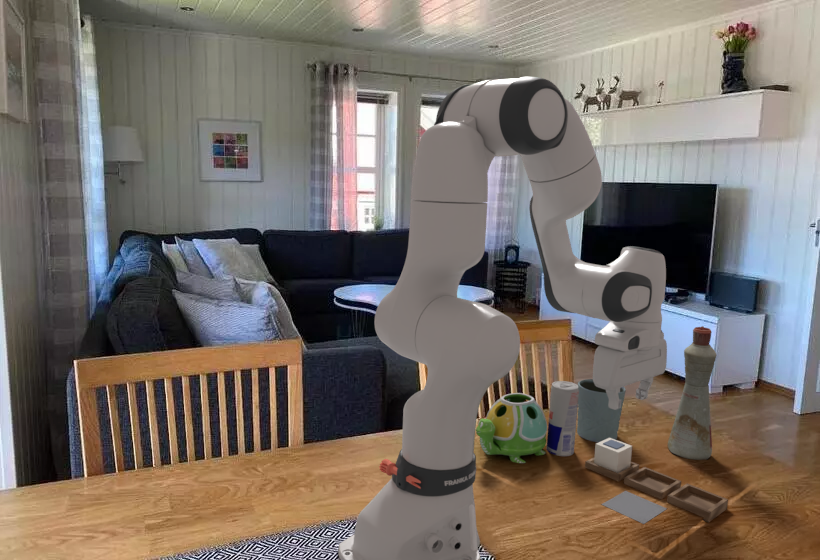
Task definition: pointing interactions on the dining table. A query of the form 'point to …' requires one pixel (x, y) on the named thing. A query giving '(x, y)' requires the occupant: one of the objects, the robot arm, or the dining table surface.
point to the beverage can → (562, 418)
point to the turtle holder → (513, 427)
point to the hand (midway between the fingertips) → (628, 403)
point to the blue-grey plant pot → (597, 412)
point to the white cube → (613, 455)
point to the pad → (634, 507)
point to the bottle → (695, 401)
